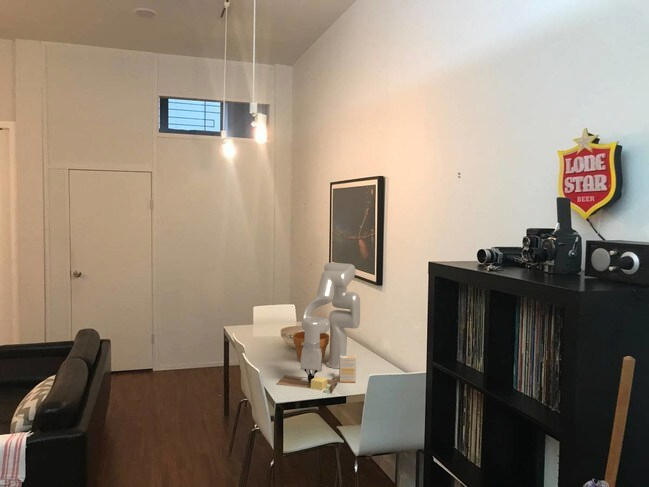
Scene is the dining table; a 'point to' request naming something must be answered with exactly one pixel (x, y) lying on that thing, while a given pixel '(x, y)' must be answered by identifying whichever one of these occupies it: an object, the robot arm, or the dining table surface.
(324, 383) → the ochre block
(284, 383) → the trap board
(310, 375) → the robot arm
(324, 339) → the flower pot
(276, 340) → the dining table surface
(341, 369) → the supplement box
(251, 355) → the dining table surface
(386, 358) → the dining table surface
